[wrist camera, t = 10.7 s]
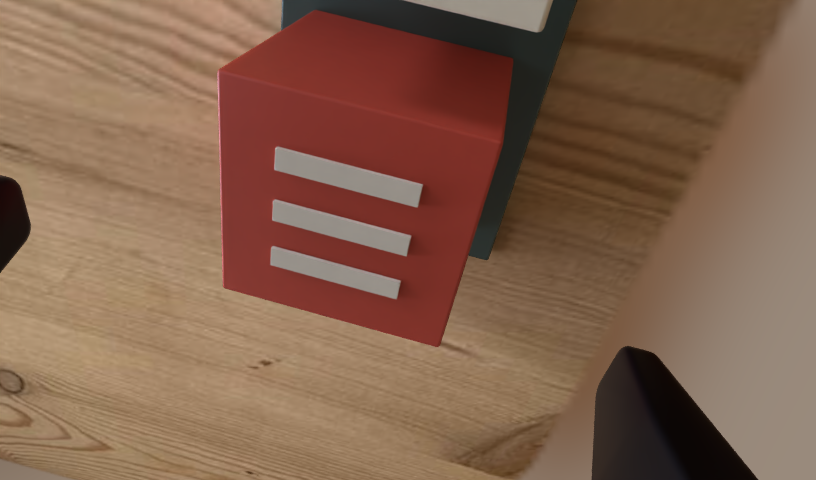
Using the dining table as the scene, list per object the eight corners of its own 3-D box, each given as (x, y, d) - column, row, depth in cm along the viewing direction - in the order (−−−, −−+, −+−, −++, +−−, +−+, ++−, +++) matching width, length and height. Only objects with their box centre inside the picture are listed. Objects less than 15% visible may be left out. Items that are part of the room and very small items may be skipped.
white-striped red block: (464, 227, 14) (439, 351, 10) (300, 183, 14) (220, 291, 11) (514, 57, 11) (503, 145, 8) (314, 8, 12) (213, 70, 8)
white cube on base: (489, 252, 15) (471, 393, 11) (278, 196, 15) (185, 312, 11) (711, -402, 8) (894, -687, 4) (311, -479, 8) (93, -817, 4)
